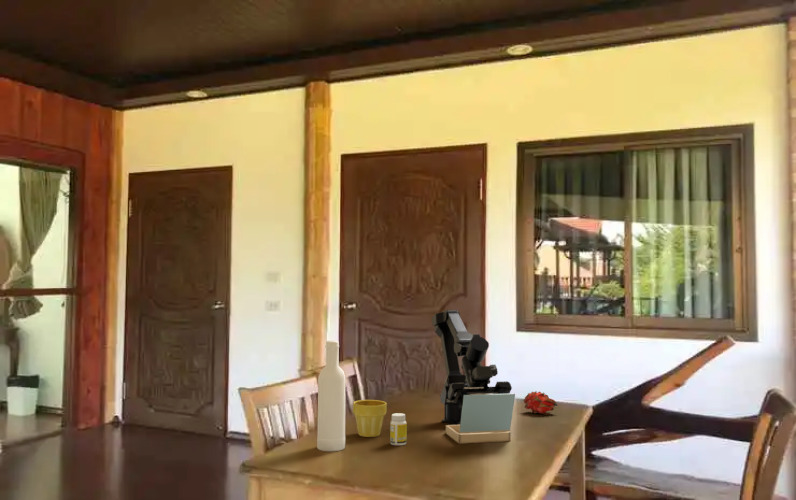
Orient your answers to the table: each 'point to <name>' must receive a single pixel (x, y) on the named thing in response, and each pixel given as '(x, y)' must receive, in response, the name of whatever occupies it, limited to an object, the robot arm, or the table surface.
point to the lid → (487, 413)
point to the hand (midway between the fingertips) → (486, 415)
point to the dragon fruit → (539, 402)
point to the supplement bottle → (398, 429)
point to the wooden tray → (476, 435)
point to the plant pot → (369, 416)
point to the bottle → (331, 402)
